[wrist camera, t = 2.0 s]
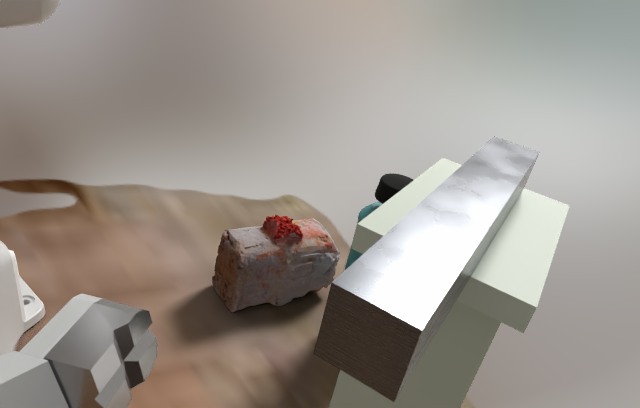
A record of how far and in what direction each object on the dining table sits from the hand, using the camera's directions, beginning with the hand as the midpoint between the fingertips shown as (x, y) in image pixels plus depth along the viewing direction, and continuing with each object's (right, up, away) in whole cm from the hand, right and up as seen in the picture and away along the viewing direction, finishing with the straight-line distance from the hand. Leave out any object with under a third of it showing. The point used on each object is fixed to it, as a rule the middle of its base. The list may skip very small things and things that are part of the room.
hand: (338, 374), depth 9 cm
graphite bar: (+6, +1, +15) cm, 16 cm away
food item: (-6, -7, +51) cm, 51 cm away
